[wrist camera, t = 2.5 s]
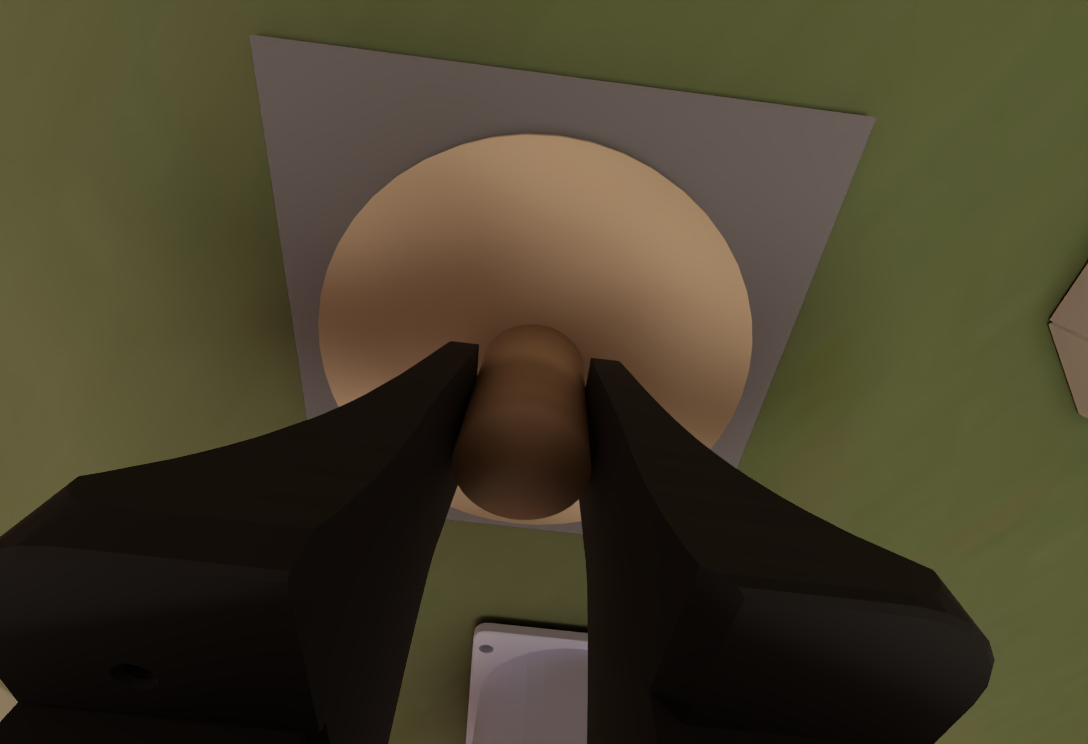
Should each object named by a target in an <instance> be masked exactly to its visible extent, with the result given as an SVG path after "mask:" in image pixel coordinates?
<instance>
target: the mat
mask: <svg viewBox="0 0 1088 744" xmlns="http://www.w3.org/2000/svg"><path fill="white" fill-rule="evenodd" d="M249 37H250V43H251V50H252V57H253V63H254V70H255V77H256V83H257V90H258V97H259V103H260V110H261V117H262V123H263V130H264V137H265V143H266V150H267V157H268V163H269V170H270V176H271V183H272V190H273V196H274V203H275V210H276V216H277V223H278V230H279V236H280V243H281V250H282V256H283V263H284V270H285V276H286V283H287V290H288V296H289V303H290V309H291V316H292V323H293V329H294V336H295V343H296V349H297V356H298V363H299V369H300V376H301V383H302V389H303V396H304V403H305V409H306V416H307V420H309V419H311V418H314V417H316V416H319V415H321V414H324V413H326V412H328V411H331V410H333V409H335V408H338V407H339V406H338V404H337V402H336V400H335V398H334V396H333V394H332V391H331V389H330V386H329V383H328V380H327V377H326V374H325V371H324V366H323V361H322V356H321V351H320V344H319V327H318V319H319V308H320V297H321V292H322V288H323V284H324V280H325V276H326V272H327V269H328V266H329V264H330V261H331V259H332V257H333V254H334V252H335V250H336V247H337V245H338V243H339V241H340V240H341V238H342V237H343V235H344V233H345V232H346V230H347V229H348V227H349V225H350V224H351V222H352V220H353V219H354V218H355V217H356V216H357V214H358V213H359V212H360V211H361V210H362V209H363V207H364V206H365V205H366V204H367V203H368V202H369V201H370V199H371V198H372V197H373V196H374V195H375V194H377V193H378V192H379V191H380V190H381V189H383V188H384V187H385V186H386V185H387V184H389V183H390V182H391V181H392V180H393V179H394V178H396V177H397V176H398V175H400V174H402V173H403V172H405V171H407V170H408V169H410V168H412V167H413V166H415V165H417V164H418V163H420V162H422V161H423V160H425V159H427V158H430V157H432V156H435V155H437V154H439V153H442V152H444V151H447V150H449V149H452V148H454V147H456V146H459V145H461V144H464V143H468V142H472V141H476V140H480V139H484V138H488V137H492V136H499V135H510V134H520V133H540V134H559V135H565V136H570V137H575V138H580V139H585V140H590V141H593V142H596V143H599V144H602V145H605V146H607V147H610V148H613V149H616V150H619V151H622V152H624V153H625V154H627V155H629V156H631V157H633V158H635V159H637V160H639V161H641V162H643V163H644V164H646V165H648V166H650V167H651V168H653V169H654V170H655V171H657V172H658V173H660V174H661V175H662V176H664V177H665V178H666V179H668V180H669V181H670V182H672V183H673V184H675V185H676V186H677V187H679V188H680V189H681V190H683V191H684V192H685V193H686V194H687V195H688V196H689V197H690V198H691V199H692V200H693V201H694V202H695V203H696V204H697V205H698V206H699V207H700V208H701V209H702V210H703V211H704V212H705V213H706V214H707V216H708V217H709V218H710V220H711V221H712V222H713V224H714V225H715V227H716V228H717V229H718V231H719V232H720V233H721V235H722V236H723V237H724V239H725V241H726V243H727V245H728V247H729V248H730V250H731V252H732V254H733V256H734V258H735V260H736V262H737V264H738V266H739V269H740V272H741V275H742V278H743V281H744V284H745V287H746V290H747V294H748V299H749V305H750V311H751V317H752V352H751V360H750V367H749V373H748V376H747V380H746V383H745V387H744V390H743V394H742V396H741V399H740V401H739V403H738V405H737V408H736V410H735V412H734V415H733V417H732V419H731V420H730V422H729V423H728V425H727V427H726V428H725V430H724V432H723V433H722V435H721V436H720V438H719V439H718V440H717V442H716V443H715V444H714V445H713V447H712V448H711V449H710V450H712V451H713V452H714V453H716V454H717V455H718V456H720V457H721V458H722V459H724V460H725V461H726V462H728V463H729V464H730V465H732V466H733V467H735V468H736V469H737V467H738V465H739V462H740V460H741V457H742V455H743V452H744V450H745V447H746V445H747V442H748V440H749V437H750V435H751V432H752V430H753V427H754V425H755V422H756V419H757V417H758V414H759V412H760V409H761V407H762V404H763V402H764V399H765V397H766V394H767V392H768V389H769V387H770V384H771V382H772V379H773V377H774V374H775V372H776V369H777V367H778V364H779V362H780V359H781V357H782V354H783V352H784V349H785V347H786V344H787V342H788V339H789V337H790V334H791V332H792V329H793V327H794V324H795V321H796V319H797V316H798V314H799V311H800V309H801V306H802V304H803V301H804V299H805V296H806V294H807V291H808V289H809V286H810V284H811V281H812V279H813V276H814V274H815V271H816V269H817V266H818V264H819V261H820V259H821V256H822V254H823V251H824V249H825V246H826V244H827V241H828V239H829V236H830V234H831V231H832V229H833V226H834V223H835V221H836V218H837V216H838V213H839V211H840V208H841V206H842V203H843V201H844V198H845V196H846V193H847V191H848V188H849V186H850V183H851V181H852V178H853V176H854V173H855V171H856V168H857V166H858V163H859V161H860V158H861V156H862V153H863V151H864V148H865V146H866V143H867V141H868V138H869V136H870V133H871V131H872V128H873V125H874V123H875V120H876V118H877V117H871V116H863V115H856V114H848V113H841V112H833V111H826V110H818V109H810V108H803V107H795V106H788V105H780V104H773V103H765V102H758V101H750V100H742V99H735V98H727V97H720V96H712V95H705V94H697V93H690V92H682V91H674V90H667V89H659V88H652V87H644V86H637V85H629V84H622V83H614V82H607V81H599V80H591V79H584V78H576V77H569V76H561V75H554V74H546V73H539V72H531V71H523V70H516V69H508V68H501V67H493V66H486V65H478V64H471V63H463V62H455V61H448V60H440V59H433V58H425V57H418V56H410V55H403V54H395V53H388V52H380V51H372V50H365V49H357V48H350V47H342V46H335V45H327V44H320V43H312V42H304V41H297V40H289V39H282V38H274V37H267V36H259V35H252V34H249ZM446 519H447V520H456V521H465V522H475V523H484V524H493V525H502V526H511V527H520V528H529V529H538V530H547V531H556V532H565V533H574V534H583V531H582V522H581V521H580V522H573V523H565V524H547V525H534V524H517V523H510V522H503V521H497V520H491V519H487V518H483V517H479V516H476V515H472V514H469V513H466V512H463V511H460V510H457V509H455V508H452V507H450V508H449V511H448V514H447V517H446Z"/></svg>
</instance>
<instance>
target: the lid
mask: <svg viewBox="0 0 1088 744" xmlns="http://www.w3.org/2000/svg"><path fill="white" fill-rule="evenodd" d="M318 327H319V344H320V351H321V356H322V361H323V366H324V371H325V374H326V377H327V380H328V383H329V386H330V389H331V391H332V394H333V396H334V398H335V400H336V402H337V404H338V406H339V407H340V406H342V405H344V404H347V403H349V402H351V401H353V400H355V399H357V398H359V397H361V396H363V395H365V394H367V393H368V392H370V391H372V390H374V389H375V388H377V387H379V386H381V385H382V384H384V383H386V382H388V381H389V380H391V379H393V378H395V377H397V376H398V375H400V374H402V373H403V372H405V371H406V370H408V369H409V368H411V367H412V366H414V365H415V364H417V363H418V362H420V361H421V360H423V359H425V358H426V357H427V356H429V355H430V354H432V353H433V352H435V351H436V350H438V349H439V348H441V347H442V346H443V345H445V344H447V343H448V342H450V341H455V342H463V343H472V344H479V354H478V373H477V379H476V382H475V385H474V388H473V392H472V395H471V398H470V401H469V404H468V407H467V410H466V414H465V417H464V420H463V423H462V426H461V429H460V433H459V436H458V439H457V442H456V445H455V448H454V452H453V456H452V470H453V474H454V477H455V480H456V482H457V484H458V486H457V489H456V492H455V495H454V497H453V500H452V503H451V506H450V507H452V508H455V509H457V510H460V511H463V512H466V513H469V514H472V515H476V516H479V517H483V518H487V519H491V520H497V521H503V522H510V523H517V524H534V525H547V524H565V523H573V522H580V521H581V514H580V505H579V498H580V497H581V496H582V494H583V493H584V492H585V490H586V488H587V486H588V484H589V480H590V477H591V457H590V444H589V430H588V417H587V403H586V390H585V388H586V382H587V377H588V371H589V366H590V360H591V358H598V359H606V360H615V361H620V362H621V363H622V364H623V365H624V366H625V367H626V369H627V370H628V371H629V372H630V373H631V374H632V375H633V376H634V377H635V379H636V380H637V381H638V382H639V383H640V384H641V385H642V386H643V387H644V389H645V390H646V391H647V392H648V393H649V394H650V395H651V396H652V397H653V398H654V399H655V400H656V401H657V402H658V403H659V404H660V405H661V406H662V407H663V408H664V409H665V410H666V411H667V412H668V413H669V414H670V415H671V416H672V417H673V418H674V419H675V420H676V421H677V422H678V423H679V424H681V425H682V426H683V427H684V428H685V429H686V430H687V431H688V432H690V433H691V434H692V435H693V436H694V437H695V438H696V439H698V440H699V441H700V442H701V443H703V444H704V445H705V446H706V447H708V448H709V449H711V448H712V447H713V445H714V444H715V443H716V442H717V440H718V439H719V438H720V436H721V435H722V433H723V432H724V430H725V428H726V427H727V425H728V423H729V422H730V420H731V419H732V417H733V415H734V412H735V410H736V408H737V405H738V403H739V401H740V399H741V396H742V394H743V390H744V387H745V383H746V380H747V376H748V373H749V367H750V360H751V352H752V317H751V311H750V305H749V299H748V294H747V290H746V287H745V284H744V281H743V278H742V275H741V272H740V269H739V266H738V264H737V262H736V260H735V258H734V256H733V254H732V252H731V250H730V248H729V247H728V245H727V243H726V241H725V239H724V237H723V236H722V235H721V233H720V232H719V231H718V229H717V228H716V227H715V225H714V224H713V222H712V221H711V220H710V218H709V217H708V216H707V214H706V213H705V212H704V211H703V210H702V209H701V208H700V207H699V206H698V205H697V204H696V203H695V202H694V201H693V200H692V199H691V198H690V197H689V196H688V195H687V194H686V193H685V192H684V191H683V190H681V189H680V188H679V187H677V186H676V185H675V184H673V183H672V182H670V181H669V180H668V179H666V178H665V177H664V176H662V175H661V174H660V173H658V172H657V171H655V170H654V169H653V168H651V167H650V166H648V165H646V164H644V163H643V162H641V161H639V160H637V159H635V158H633V157H631V156H629V155H627V154H625V153H624V152H622V151H619V150H616V149H613V148H610V147H607V146H605V145H602V144H599V143H596V142H593V141H590V140H585V139H580V138H575V137H570V136H565V135H559V134H540V133H520V134H510V135H499V136H492V137H488V138H484V139H480V140H476V141H472V142H468V143H464V144H461V145H459V146H456V147H454V148H452V149H449V150H447V151H444V152H442V153H439V154H437V155H435V156H432V157H430V158H427V159H425V160H423V161H422V162H420V163H418V164H417V165H415V166H413V167H412V168H410V169H408V170H407V171H405V172H403V173H402V174H400V175H398V176H397V177H396V178H394V179H393V180H392V181H391V182H390V183H389V184H387V185H386V186H385V187H384V188H383V189H381V190H380V191H379V192H378V193H377V194H375V195H374V196H373V197H372V198H371V199H370V201H369V202H368V203H367V204H366V205H365V206H364V207H363V209H362V210H361V211H360V212H359V213H358V214H357V216H356V217H355V218H354V219H353V220H352V222H351V224H350V225H349V227H348V229H347V230H346V232H345V233H344V235H343V237H342V238H341V240H340V241H339V243H338V245H337V247H336V250H335V252H334V254H333V257H332V259H331V261H330V264H329V266H328V269H327V272H326V276H325V280H324V284H323V288H322V292H321V297H320V308H319V319H318Z"/></svg>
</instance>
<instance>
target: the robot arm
mask: <svg viewBox="0 0 1088 744" xmlns="http://www.w3.org/2000/svg"><path fill="white" fill-rule="evenodd" d="M478 354H479V344H472V343H463V342H455V341H450V342H448V343H447V344H445V345H443V346H442V347H441V348H439V349H438V350H436V351H435V352H433V353H432V354H430V355H429V356H427V357H426V358H425V359H423V360H421V361H420V362H418V363H417V364H415V365H414V366H412V367H411V368H409V369H408V370H406V371H405V372H403V373H402V374H400V375H398V376H397V377H395V378H393V379H391V380H389V381H388V382H386V383H384V384H382V385H381V386H379V387H377V388H375V389H374V390H372V391H370V392H368V393H367V394H365V395H363V396H361V397H359V398H357V399H355V400H353V401H351V402H349V403H347V404H344V405H342V406H340V407H338V408H335V409H333V410H331V411H328V412H326V413H324V414H321V415H319V416H316V417H314V418H311V419H309V420H306V421H303V422H300V423H297V424H294V425H291V426H288V427H286V428H283V429H280V430H277V431H274V432H271V433H268V434H266V435H262V436H259V437H256V438H253V439H249V440H245V441H242V442H238V443H235V444H231V445H228V446H224V447H220V448H216V449H212V450H208V451H204V452H200V453H196V454H192V455H187V456H183V457H179V458H174V459H169V460H164V461H159V462H154V463H149V464H143V465H138V466H133V467H128V468H123V469H117V470H112V471H107V472H102V473H96V474H90V475H84V476H79V477H77V478H76V479H74V480H73V481H72V482H71V483H69V484H68V485H67V486H66V487H64V488H63V489H62V490H60V491H59V492H58V493H56V494H55V495H54V496H53V497H51V498H50V499H49V500H47V501H46V502H45V503H43V504H42V505H41V506H40V507H38V508H37V509H36V510H34V511H33V512H32V513H31V514H29V515H28V516H27V517H25V518H24V519H23V520H21V521H20V522H19V523H18V524H16V525H15V526H14V527H12V528H11V529H10V530H9V531H7V532H6V533H5V534H3V535H2V536H1V537H0V679H1V680H2V682H3V683H4V684H5V686H6V687H7V688H8V689H9V691H10V692H11V693H12V695H13V696H14V697H15V699H16V700H17V701H18V703H17V704H16V706H14V707H13V708H12V710H11V711H10V712H9V713H8V714H7V715H6V716H5V717H4V718H3V720H2V721H1V722H0V744H388V742H389V737H390V733H391V728H392V724H393V719H394V715H395V710H396V706H397V701H398V697H399V693H400V688H401V684H402V679H403V675H404V670H405V666H406V662H407V658H408V653H409V649H410V645H411V641H412V636H413V632H414V628H415V624H416V620H417V615H418V611H419V607H420V603H421V599H422V595H423V591H424V587H425V583H426V579H427V575H428V571H429V567H430V564H431V560H432V557H433V554H434V551H435V547H436V544H437V542H438V539H439V536H440V533H441V531H442V528H443V525H444V522H445V519H446V517H447V514H448V511H449V508H450V506H451V503H452V500H453V497H454V495H455V492H456V489H457V486H458V484H457V482H456V480H455V477H454V474H453V470H452V456H453V452H454V448H455V445H456V442H457V439H458V436H459V433H460V429H461V426H462V423H463V420H464V417H465V414H466V410H467V407H468V404H469V401H470V398H471V395H472V392H473V388H474V385H475V382H476V379H477V373H478ZM585 390H586V403H587V417H588V430H589V444H590V457H591V477H590V480H589V484H588V486H587V488H586V490H585V492H584V493H583V494H582V496H581V497H580V498H579V505H580V514H581V522H582V531H583V540H584V549H585V558H586V570H587V597H588V633H582V632H573V631H563V630H554V629H544V628H535V627H525V626H516V625H506V624H497V623H482V624H479V625H478V626H477V627H476V628H475V631H474V637H473V650H472V664H471V678H470V692H469V706H468V720H467V734H466V744H934V743H935V742H936V741H937V740H938V739H939V738H940V737H941V736H942V735H943V734H944V733H945V732H946V731H947V730H948V729H949V728H950V727H951V726H952V725H953V724H954V723H955V722H956V721H957V720H958V719H959V718H960V717H961V716H962V715H964V714H965V713H966V712H967V711H968V710H969V709H970V708H971V707H972V706H973V705H974V704H975V702H976V701H977V700H978V698H979V697H980V696H981V694H982V693H983V692H984V690H985V689H986V688H987V686H988V683H989V679H990V675H991V671H992V668H993V664H994V657H993V653H992V650H991V646H990V642H989V640H988V639H987V638H986V637H985V635H984V634H983V633H982V632H981V630H980V629H979V628H978V626H977V625H976V624H975V623H974V621H973V620H972V619H971V617H970V616H969V615H968V614H967V612H966V611H965V610H964V609H963V607H962V606H961V605H960V603H959V602H958V601H957V600H956V598H955V597H954V596H953V594H952V593H951V592H950V591H949V589H948V588H947V587H946V586H945V584H944V583H943V582H942V580H941V579H940V578H939V577H938V575H937V574H936V573H935V572H934V571H933V570H932V569H929V568H927V567H925V566H923V565H920V564H918V563H916V562H914V561H911V560H909V559H907V558H905V557H902V556H900V555H898V554H895V553H893V552H891V551H889V550H886V549H884V548H882V547H880V546H877V545H875V544H873V543H871V542H868V541H866V540H864V539H862V538H859V537H857V536H855V535H853V534H851V533H848V532H846V531H844V530H842V529H840V528H838V527H836V526H835V525H833V524H831V523H829V522H827V521H825V520H823V519H821V518H819V517H817V516H815V515H813V514H811V513H809V512H807V511H805V510H804V509H802V508H800V507H798V506H796V505H795V504H793V503H791V502H789V501H788V500H786V499H784V498H782V497H780V496H779V495H777V494H775V493H774V492H772V491H771V490H769V489H767V488H766V487H764V486H763V485H761V484H759V483H758V482H756V481H755V480H753V479H751V478H750V477H748V476H747V475H745V474H744V473H742V472H741V471H739V470H738V469H736V468H735V467H733V466H732V465H730V464H729V463H728V462H726V461H725V460H724V459H722V458H721V457H720V456H718V455H717V454H716V453H714V452H713V451H712V450H710V449H709V448H708V447H706V446H705V445H704V444H703V443H701V442H700V441H699V440H698V439H696V438H695V437H694V436H693V435H692V434H691V433H690V432H688V431H687V430H686V429H685V428H684V427H683V426H682V425H681V424H679V423H678V422H677V421H676V420H675V419H674V418H673V417H672V416H671V415H670V414H669V413H668V412H667V411H666V410H665V409H664V408H663V407H662V406H661V405H660V404H659V403H658V402H657V401H656V400H655V399H654V398H653V397H652V396H651V395H650V394H649V393H648V392H647V391H646V390H645V389H644V387H643V386H642V385H641V384H640V383H639V382H638V381H637V380H636V379H635V377H634V376H633V375H632V374H631V373H630V372H629V371H628V370H627V369H626V367H625V366H624V365H623V364H622V363H621V362H620V361H615V360H606V359H598V358H591V360H590V366H589V371H588V377H587V382H586V388H585Z"/></svg>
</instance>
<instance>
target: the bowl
mask: <svg viewBox="0 0 1088 744" xmlns="http://www.w3.org/2000/svg"><path fill="white" fill-rule="evenodd" d="M1050 321H1052V323H1050V324H1048V325H1049V328H1050V331H1051V333H1052V336H1053V339H1054V342H1055V345H1056V348H1057V351H1058V354H1059V357H1060V360H1061V363H1062V366H1063V369H1064V372H1065V375H1066V378H1067V381H1068V384H1069V387H1070V390H1071V392H1072V395H1073V398H1074V401H1075V404H1076V407H1077V410H1078V413H1079V414H1080V415H1082V416H1083V417H1085V418H1087V419H1088V263H1087V265H1086V266H1085V268H1084V269H1083V271H1082V272H1081V274H1080V275H1079V277H1078V278H1077V280H1076V281H1075V283H1074V284H1073V286H1072V287H1071V289H1070V290H1069V292H1068V293H1067V294H1066V296H1065V297H1064V299H1063V300H1062V302H1061V303H1060V305H1059V306H1058V308H1057V309H1056V311H1055V312H1054V314H1053V315H1052V317H1051V318H1050Z"/></svg>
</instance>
